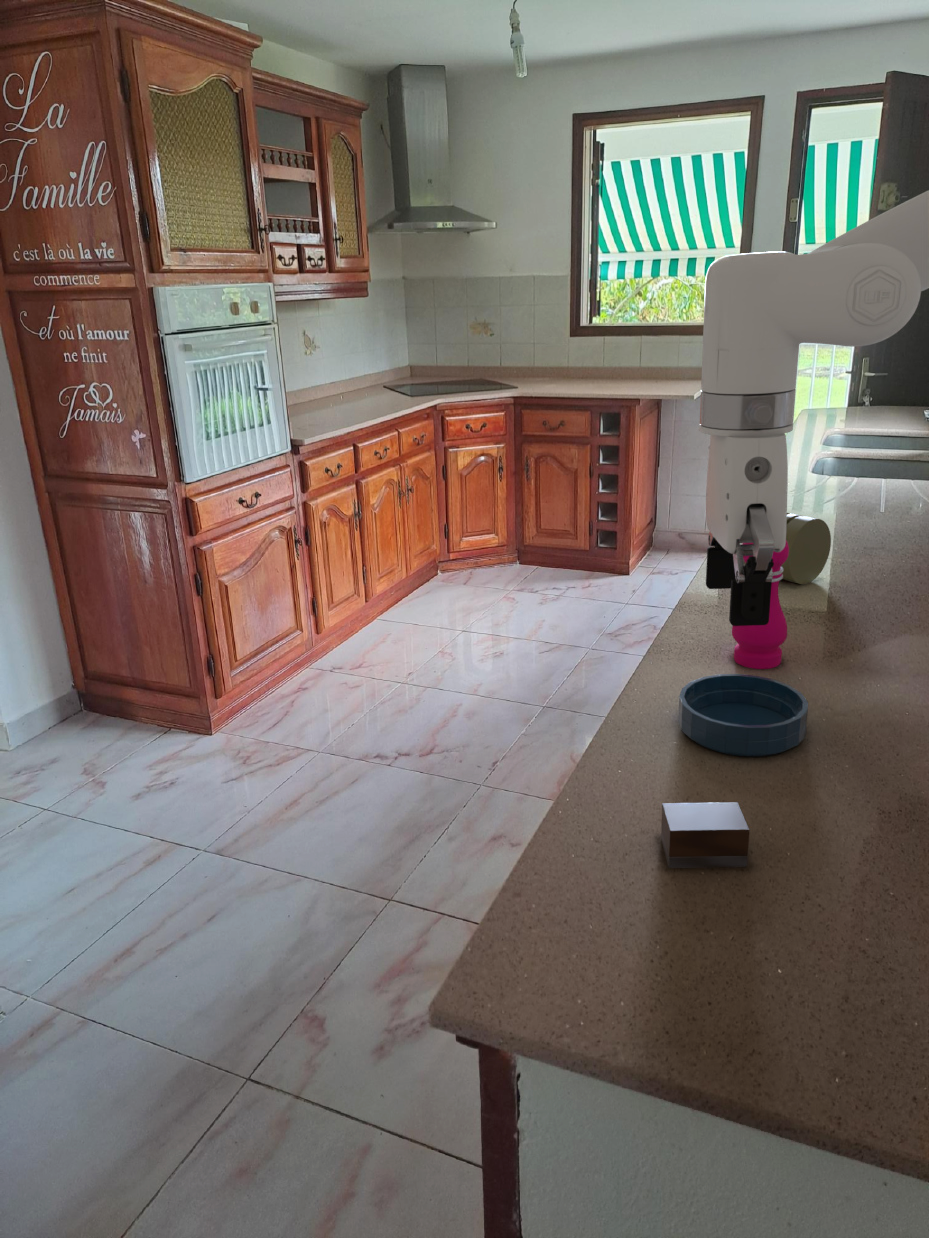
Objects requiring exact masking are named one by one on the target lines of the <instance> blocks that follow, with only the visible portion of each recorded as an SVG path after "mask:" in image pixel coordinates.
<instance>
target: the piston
mask: <svg viewBox="0 0 929 1238" xmlns="http://www.w3.org/2000/svg"><path fill="white" fill-rule="evenodd" d="M786 541H787V543H788V546H789V555H788V558H787V560H786V561H785V562H784V563H783V564H782V565H781V567H782V568H783V570H784V571H783V572H782V575H783V578H782V579H781V580H785V581H788V582H792V583H795V584H798V585H807V584H809V583H811V582H813V581H814V580H816V578H818V576H820V574H821V573H822V571H823V569H824V568H825V566H826V564H827V562H828V559H829V556H830V551H831V546H832V535H831V530H830V528H829V525H828V524H827V523H826V521H824V520H823V519H821V518H816V517H812V516H806V515H801V514H795V513H790V512H787V524H786ZM745 564H746V562H745V561H744V566H745Z"/></svg>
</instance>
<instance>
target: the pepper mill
mask: <svg viewBox="0 0 929 1238" xmlns="http://www.w3.org/2000/svg"><path fill="white" fill-rule="evenodd" d="M742 544H753V543H742ZM788 555H789V546H788V543H787V541H786V544H785V547H784V549H783V550H782V551H781V552H774V551H773V555H772V559H773V562H774V566H773V567H772V572H773V578H772V586H771V599H770V613H769V622H768V624H766V625H753V626H733V625H731V626H732V627H731V635H732V638H733V639H734V641H735V642H736V643H737V644H736V645H735V646H734V649H733V650H734V651H733V660H734V661H735V663H736V664H738V665H740V666H742V667H744V668H748V669H753V670H770V669H774V668H777V667H778V666H779V665H781V663H782V657H783V656H782V655H783V649H782V647H780V646H781V645H783V643H785V642H786V640H787V637H788V624H787V619H786V617H785V614H784V612H783V608H782V605H781V602H780V597H779V585H780V581H781V580H783V579H782V578H783V575H782V572H783V571H784V570H783V568H782V567H781V565H782V564H783V563H784V562H785V561H786V560H787V558H788ZM748 558H749V556H743V560H744V561H745V562H747V560H748Z"/></svg>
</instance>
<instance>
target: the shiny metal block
mask: <svg viewBox="0 0 929 1238" xmlns="http://www.w3.org/2000/svg"><path fill="white" fill-rule="evenodd" d="M660 831H661V832H660V840H661V844H662V847H663V851H664V855H665V858H666V863H667V866H668V868H669V869H676V868H677V869H678V868H679V869H680V868H681V869H683V868H686V869H687V868H688V869H689V868H747V867H748V857H749V856H748V855H749V847H750V846H749V844H750V831H751V830H750V827H749V825H748V823H747V821H746V818H745V816H744V813H743V812H742V809H741V808H740V805H739V802H738V801H735V802H732V801H731V802H728V801H727V802H725V801H724V802H676V803H675V802H674V803H671V802H669V803H662V804H661V830H660Z"/></svg>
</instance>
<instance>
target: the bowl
mask: <svg viewBox="0 0 929 1238" xmlns="http://www.w3.org/2000/svg"><path fill="white" fill-rule="evenodd" d="M808 708H809V701H808V700H807V699H806V697H805V696H804V694H803V693H802V692H800V691H799V690H798V689H796V688H794V687H793V686H792V685H790V684H788V683H785V682H782V681H779V680H777V679H773V678H769V677H764V676H760V675H753V674H743V673H719V674H712V675H706V676H703V677H702V676H701V677H700V678H696V679H694V680H691V681H689V682H688V683H687V684H685V686H682V688H681V690H680V693H679V695H678V715H677V717H678V718H677V719H678V720H677V721H678V726H679V728H680V730H681V732H682V733H683V734H684V735H686V736H687V737H688V738H689V739H690V740H692V741H694V742H695V743H697V744H698V745H700V746H702V747H704V748H706V749H709V750H712V751H714V752H717V753H722V754H726V755H732V756H737V757H765V756H771V755H772V756H773V755H777V754H781V753H783V752H786V751H788V750H790V749H792V748H794V747H796V746H798V745H799V744H800V743H801V742H802V741H803V740H804V739H805V738H806V734H807V723H808V721H807V720H808V712H809V711H808V710H809V709H808Z"/></svg>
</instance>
